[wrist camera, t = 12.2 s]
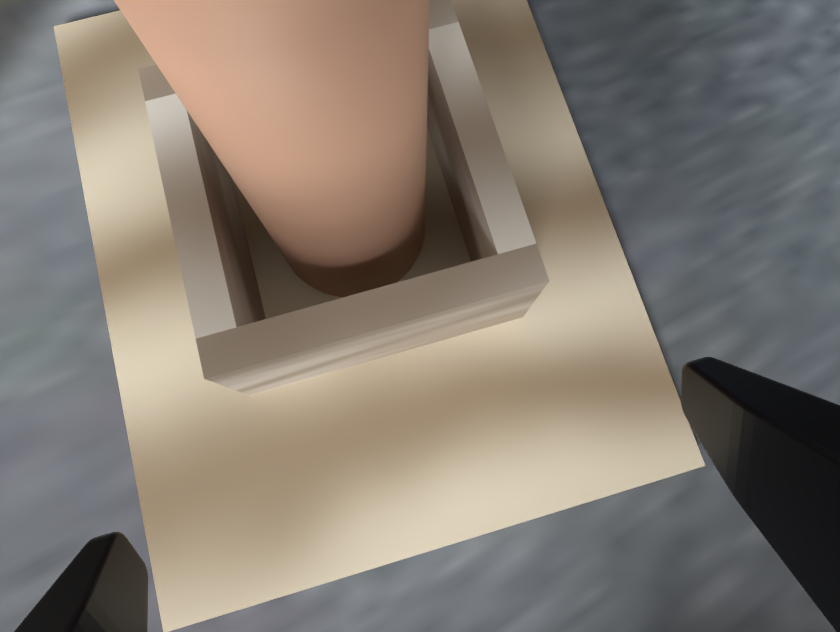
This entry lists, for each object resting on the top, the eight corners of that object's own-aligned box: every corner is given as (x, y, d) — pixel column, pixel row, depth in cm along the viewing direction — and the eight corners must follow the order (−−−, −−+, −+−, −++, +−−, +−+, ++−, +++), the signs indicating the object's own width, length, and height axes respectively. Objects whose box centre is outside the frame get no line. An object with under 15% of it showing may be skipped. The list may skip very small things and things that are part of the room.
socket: (696, 465, 19) (783, 467, 14) (172, 627, 18) (87, 684, 13) (493, -68, 23) (511, -196, 18) (63, 38, 22) (-29, -71, 17)
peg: (454, 239, 20) (505, -89, 8) (337, 327, 19) (203, 111, 7) (366, 135, 20) (295, -300, 9) (251, 216, 20) (7, -138, 8)
